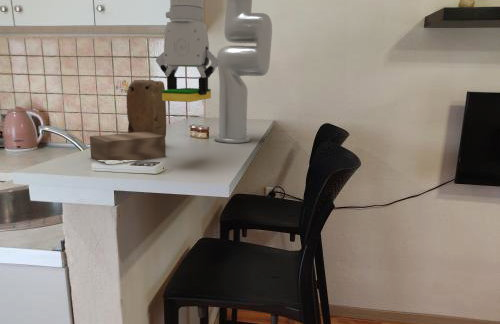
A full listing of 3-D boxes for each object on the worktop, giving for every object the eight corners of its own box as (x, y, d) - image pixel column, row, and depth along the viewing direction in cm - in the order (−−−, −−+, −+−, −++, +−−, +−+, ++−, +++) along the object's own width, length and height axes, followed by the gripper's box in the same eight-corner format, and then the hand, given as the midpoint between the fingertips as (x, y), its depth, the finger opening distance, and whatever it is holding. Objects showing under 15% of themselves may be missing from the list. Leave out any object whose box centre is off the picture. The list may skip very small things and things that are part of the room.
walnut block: (146, 152, 110) (145, 131, 109) (165, 158, 103) (165, 136, 102) (91, 159, 99) (89, 136, 98) (108, 166, 92) (107, 141, 91)
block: (168, 146, 118) (167, 80, 114) (155, 150, 111) (154, 80, 107) (138, 143, 121) (136, 79, 117) (124, 147, 114) (121, 79, 110)
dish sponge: (161, 100, 88) (161, 90, 87) (185, 97, 101) (185, 87, 100) (190, 102, 86) (190, 91, 85) (211, 98, 99) (211, 88, 99)
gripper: (145, 15, 88) (147, 93, 92) (215, 13, 83) (214, 96, 87) (161, 19, 95) (163, 92, 99) (227, 18, 90) (226, 94, 94)
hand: (187, 93), depth 93 cm, fingers closed on dish sponge, 7 cm apart
